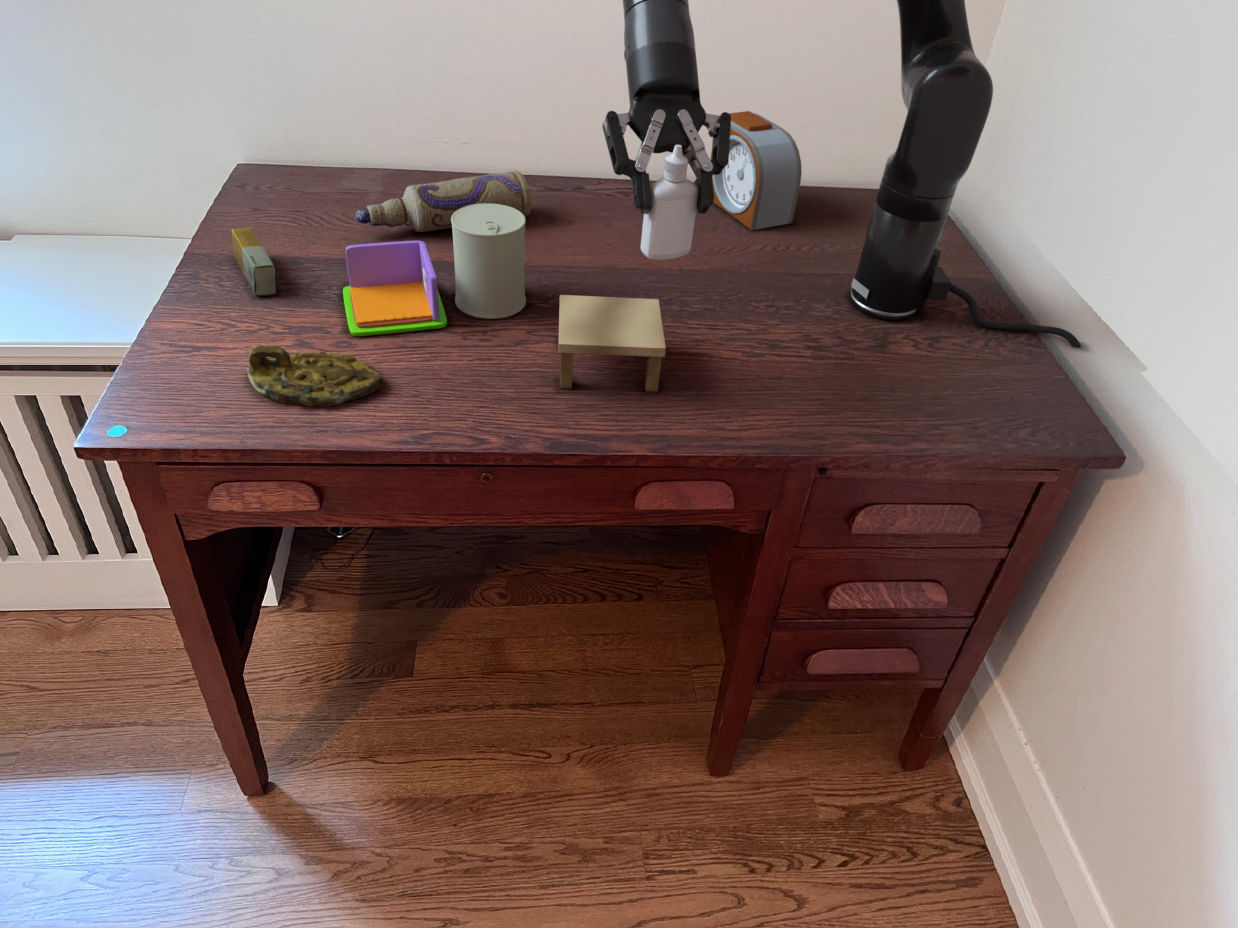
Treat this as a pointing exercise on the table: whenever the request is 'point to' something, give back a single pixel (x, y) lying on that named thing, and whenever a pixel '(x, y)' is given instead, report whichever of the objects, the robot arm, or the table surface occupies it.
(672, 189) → the eye dropper bottle
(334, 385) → the seal
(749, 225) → the alarm clock
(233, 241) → the medication box
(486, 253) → the can
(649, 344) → the stand
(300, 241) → the table surface
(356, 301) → the dollhouse room
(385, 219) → the decorative bottle
